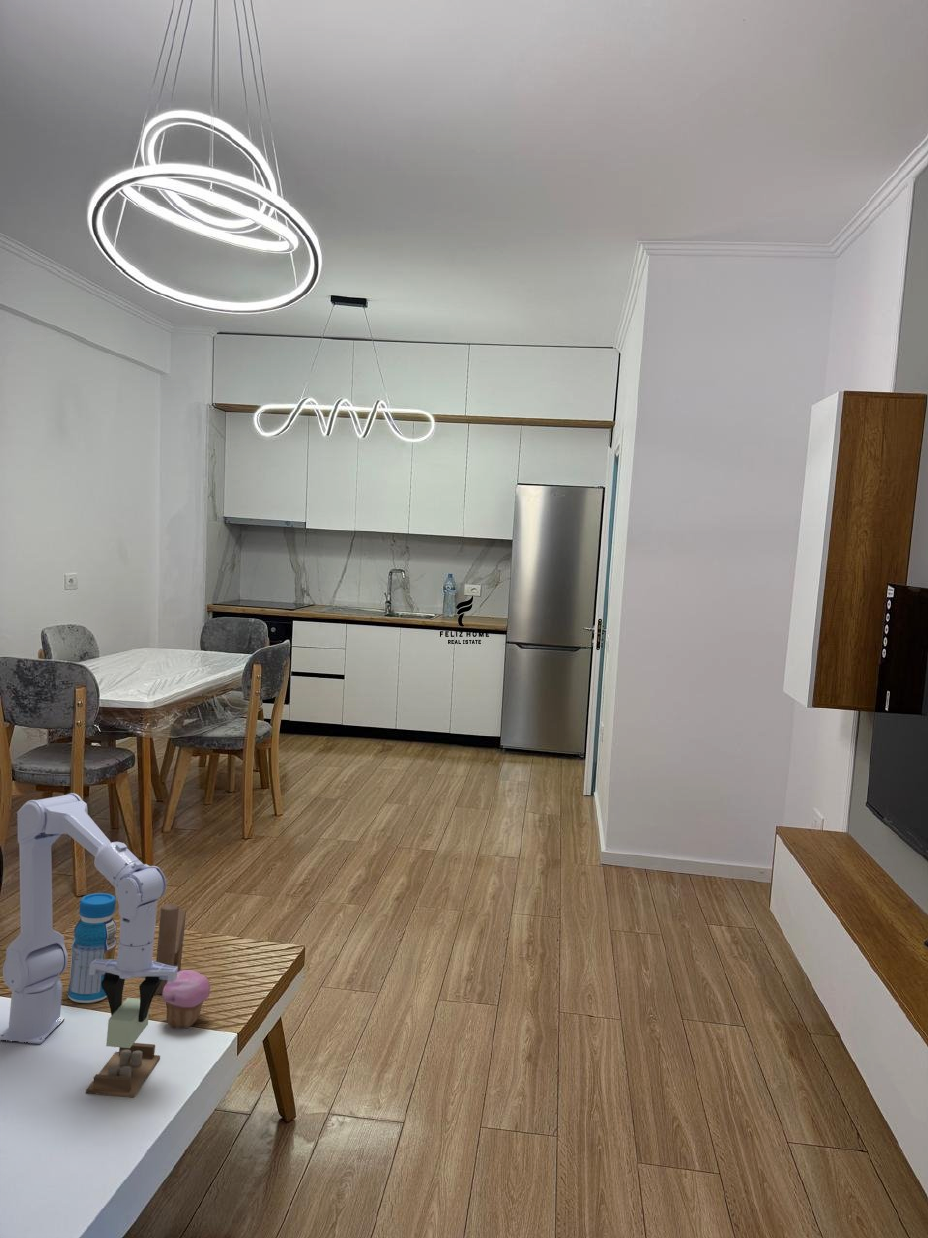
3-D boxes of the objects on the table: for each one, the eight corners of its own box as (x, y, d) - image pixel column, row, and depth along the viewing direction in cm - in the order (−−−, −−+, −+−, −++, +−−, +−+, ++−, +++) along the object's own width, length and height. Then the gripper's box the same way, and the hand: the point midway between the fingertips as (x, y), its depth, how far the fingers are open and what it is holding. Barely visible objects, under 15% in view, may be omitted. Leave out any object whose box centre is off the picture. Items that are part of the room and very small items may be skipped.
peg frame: (115, 1055, 150) (116, 1040, 150) (159, 1059, 150) (161, 1044, 150) (85, 1093, 138) (87, 1077, 138) (133, 1097, 138) (135, 1082, 138)
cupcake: (174, 1009, 168) (179, 960, 168) (214, 1017, 166) (219, 967, 166) (151, 1030, 159) (155, 978, 159) (192, 1038, 158) (197, 986, 158)
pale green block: (125, 1022, 148) (127, 997, 148) (147, 1024, 148) (150, 999, 148) (106, 1046, 140) (108, 1019, 140) (130, 1048, 140) (132, 1021, 140)
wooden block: (180, 973, 184) (187, 892, 184) (169, 995, 174) (177, 909, 174) (163, 972, 184) (170, 891, 184) (151, 995, 173) (159, 909, 173)
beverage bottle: (73, 1008, 165) (82, 908, 165) (61, 991, 171) (70, 894, 171) (117, 999, 170) (126, 901, 170) (104, 982, 177) (113, 889, 177)
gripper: (84, 945, 140) (76, 1026, 140) (170, 953, 140) (163, 1033, 140) (102, 929, 147) (95, 1006, 147) (184, 937, 147) (177, 1013, 147)
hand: (129, 1018), depth 144 cm, fingers closed on pale green block, 4 cm apart
